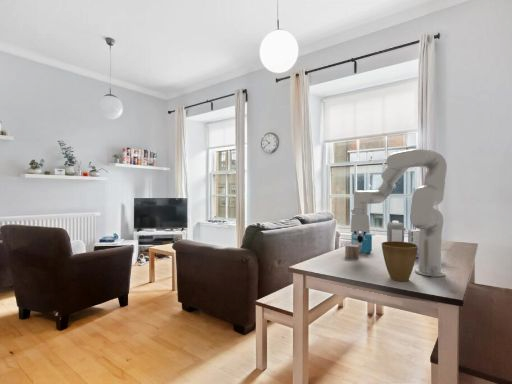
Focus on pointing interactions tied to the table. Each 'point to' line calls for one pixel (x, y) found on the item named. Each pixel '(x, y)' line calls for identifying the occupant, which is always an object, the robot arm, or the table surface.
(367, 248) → the data package
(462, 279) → the table surface
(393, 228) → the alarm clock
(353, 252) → the beige cube
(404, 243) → the plant pot
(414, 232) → the candy box
